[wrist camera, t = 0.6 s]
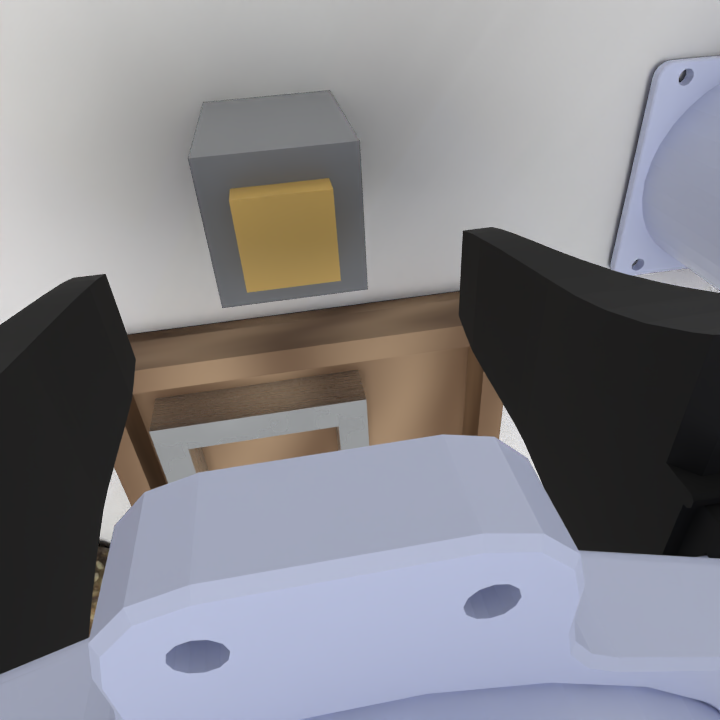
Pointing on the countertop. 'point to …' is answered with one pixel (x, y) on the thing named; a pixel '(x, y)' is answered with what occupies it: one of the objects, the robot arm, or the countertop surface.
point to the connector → (280, 197)
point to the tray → (311, 358)
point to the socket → (256, 417)
